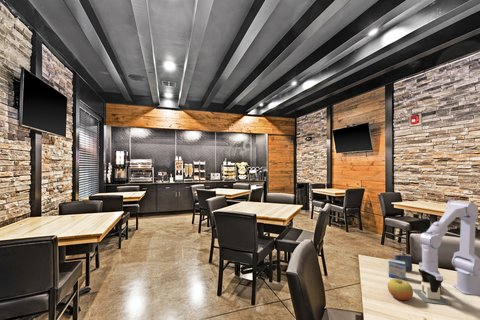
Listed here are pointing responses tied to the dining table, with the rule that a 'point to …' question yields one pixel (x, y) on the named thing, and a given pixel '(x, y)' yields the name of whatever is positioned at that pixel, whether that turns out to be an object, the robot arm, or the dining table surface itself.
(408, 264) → the flask
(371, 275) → the dining table surface
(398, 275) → the medicine box
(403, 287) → the apple
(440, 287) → the walnut screen
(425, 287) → the letter cube
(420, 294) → the slate pad
